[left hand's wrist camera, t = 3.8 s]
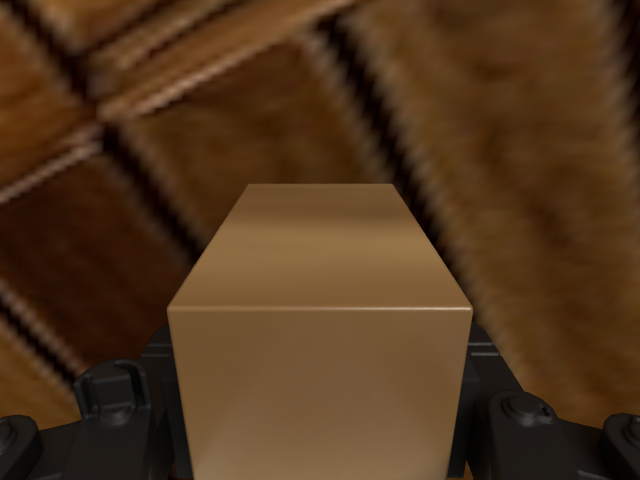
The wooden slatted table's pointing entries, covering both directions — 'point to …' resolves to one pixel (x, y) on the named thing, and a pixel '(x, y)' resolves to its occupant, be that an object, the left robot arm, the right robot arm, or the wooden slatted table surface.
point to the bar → (319, 340)
